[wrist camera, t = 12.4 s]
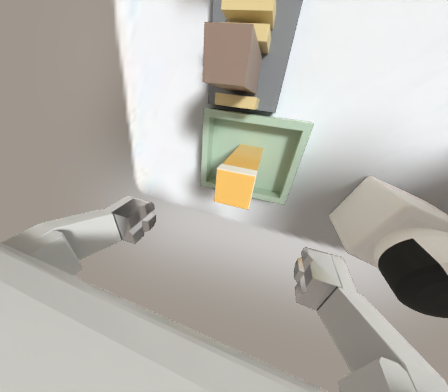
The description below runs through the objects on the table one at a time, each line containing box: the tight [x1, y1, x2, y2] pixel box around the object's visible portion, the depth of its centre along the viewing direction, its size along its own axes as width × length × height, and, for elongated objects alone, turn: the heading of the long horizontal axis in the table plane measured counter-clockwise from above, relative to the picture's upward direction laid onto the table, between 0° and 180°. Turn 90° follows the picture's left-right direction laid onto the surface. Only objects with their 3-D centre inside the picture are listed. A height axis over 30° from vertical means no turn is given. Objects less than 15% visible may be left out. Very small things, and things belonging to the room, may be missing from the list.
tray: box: [201, 108, 314, 205], centre depth 21 cm, size 12×10×3 cm
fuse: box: [214, 144, 263, 210], centre depth 17 cm, size 3×3×10 cm
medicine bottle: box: [329, 176, 448, 318], centre depth 16 cm, size 7×7×12 cm
